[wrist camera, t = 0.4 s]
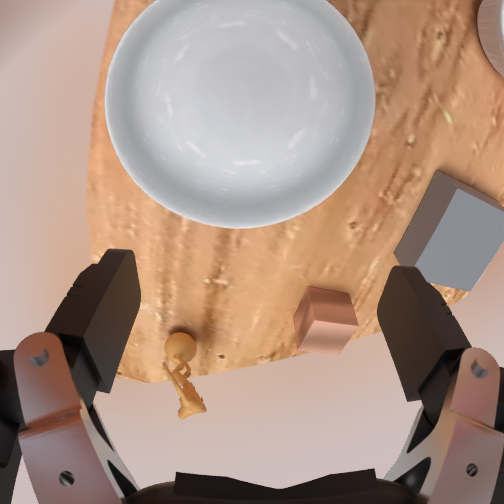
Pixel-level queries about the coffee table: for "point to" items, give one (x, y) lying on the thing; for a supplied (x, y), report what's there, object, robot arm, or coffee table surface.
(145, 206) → the coffee table surface
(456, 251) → the slate base
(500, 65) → the ramekin
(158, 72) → the cereal bowl
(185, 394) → the figurine
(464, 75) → the coffee table surface
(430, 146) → the coffee table surface
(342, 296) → the terracotta cube
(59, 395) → the robot arm
